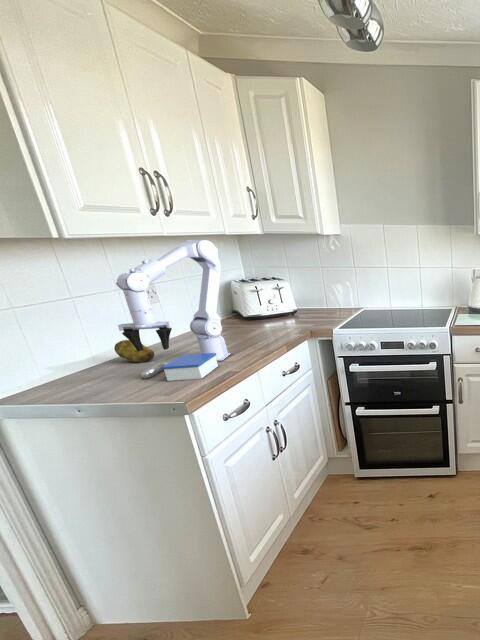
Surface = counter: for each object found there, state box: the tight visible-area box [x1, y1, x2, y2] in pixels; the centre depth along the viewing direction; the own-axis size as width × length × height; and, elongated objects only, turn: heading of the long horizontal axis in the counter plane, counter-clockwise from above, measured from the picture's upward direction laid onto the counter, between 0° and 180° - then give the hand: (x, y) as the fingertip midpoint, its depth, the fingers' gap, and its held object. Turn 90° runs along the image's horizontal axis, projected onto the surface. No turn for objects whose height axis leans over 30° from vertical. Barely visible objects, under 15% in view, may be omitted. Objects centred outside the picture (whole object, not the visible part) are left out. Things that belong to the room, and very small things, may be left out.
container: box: [162, 353, 219, 382], centre depth 144 cm, size 15×11×5 cm
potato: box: [113, 339, 155, 363], centre depth 158 cm, size 8×13×8 cm, turn 65°
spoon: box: [141, 362, 169, 379], centre depth 146 cm, size 16×5×3 cm, turn 15°
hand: (153, 349), depth 142 cm, fingers open, 7 cm apart
